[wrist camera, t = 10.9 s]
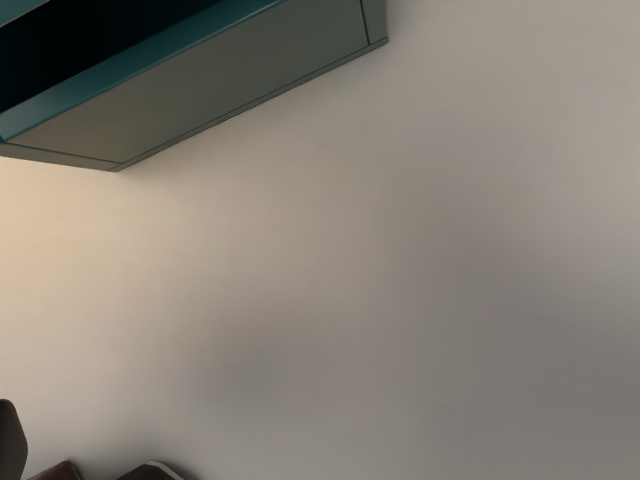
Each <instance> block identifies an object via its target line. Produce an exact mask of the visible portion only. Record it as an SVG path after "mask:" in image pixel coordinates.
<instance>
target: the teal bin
mask: <svg viewBox="0 0 640 480" xmlns="http://www.w3.org/2000/svg"><path fill="white" fill-rule="evenodd" d="M388 42H389V35H388V20H387V5H386V0H50V1H48V2H46V3H44V4H42V5H40V6H39V7H37V8H35V9H33V10H31V11H29V12H27V13H26V14H24V15H22V16H20V17H18V18H16V19H14V20H13V21H11V22H9V23H7V24H5V25H3V26H1V27H0V156H2V157H9V158H16V159H23V160H30V161H37V162H45V163H52V164H59V165H66V166H73V167H80V168H87V169H94V170H101V171H109V172H117V171H119V170H121V169H124V168H126V167H128V166H130V165H132V164H134V163H136V162H138V161H140V160H142V159H145V158H147V157H149V156H151V155H153V154H155V153H157V152H159V151H161V150H163V149H166V148H168V147H170V146H172V145H174V144H176V143H178V142H180V141H182V140H184V139H187V138H189V137H191V136H193V135H195V134H197V133H199V132H201V131H203V130H206V129H208V128H210V127H212V126H214V125H216V124H218V123H220V122H222V121H224V120H227V119H229V118H231V117H233V116H235V115H237V114H239V113H241V112H243V111H245V110H248V109H250V108H252V107H254V106H256V105H258V104H260V103H262V102H264V101H266V100H269V99H271V98H273V97H275V96H277V95H279V94H281V93H283V92H285V91H287V90H290V89H292V88H294V87H296V86H298V85H300V84H302V83H304V82H306V81H308V80H311V79H313V78H315V77H317V76H319V75H321V74H323V73H325V72H327V71H330V70H332V69H334V68H336V67H338V66H340V65H342V64H344V63H346V62H348V61H351V60H353V59H355V58H357V57H359V56H361V55H363V54H365V53H367V52H369V51H372V50H374V49H376V48H378V47H380V46H382V45H384V44H386V43H388Z"/></svg>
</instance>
